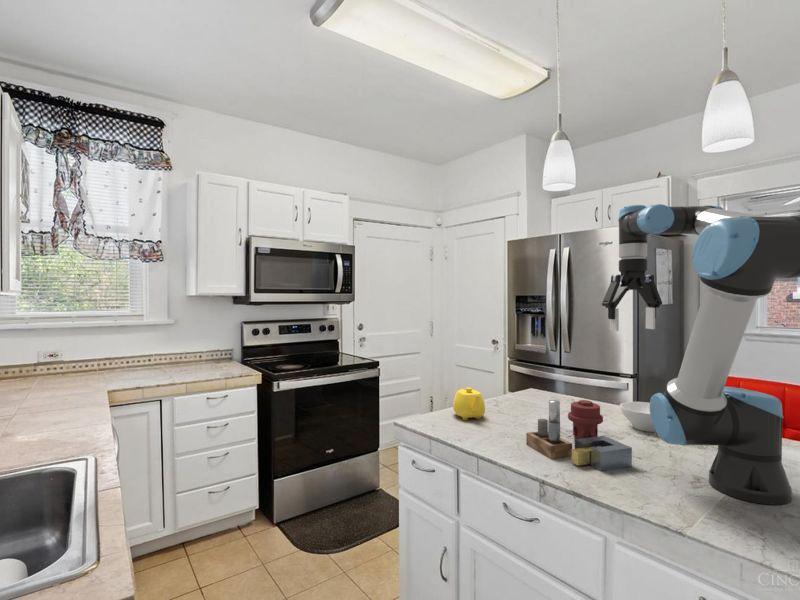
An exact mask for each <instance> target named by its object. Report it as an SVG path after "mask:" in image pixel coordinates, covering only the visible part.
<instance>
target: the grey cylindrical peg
mask: <svg viewBox="0 0 800 600" xmlns="http://www.w3.org/2000/svg"><path fill="white" fill-rule="evenodd" d="M560 408H561V401H560V400H558V399H549V400H548V442H549V443H551V444H553V445H554V444H560V438H561V412H560V411H561V409H560Z"/></svg>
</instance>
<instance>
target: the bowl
mask: <svg viewBox="0 0 800 600" xmlns="http://www.w3.org/2000/svg"><path fill="white" fill-rule="evenodd" d="M619 408H620V411H621V412H622V415H624V417H625V418H626V419H627V420H628V421H629V423H630V424H631V425H632V426H633V428H634V429H636V430H638V431H639V430H640V431H643V432H647V433H648V432H650V433H657V432H656V430H655V428H654V426H653V423H652V419H651V415H650V402H648V401H647V402H645V401H626V402H622V403H620V404H619Z"/></svg>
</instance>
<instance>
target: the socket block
mask: <svg viewBox="0 0 800 600" xmlns="http://www.w3.org/2000/svg"><path fill="white" fill-rule="evenodd" d="M585 447H591V464H590V466H591V467H592V468H594V469H596V470H597V471H599V472H605V471H611V470H617V469H618V470H619V469H624V468H629V467H630V468H632V466H633V447H631V446H628V445H626V444H624V443H622V442H620V441H617V440H615V439H612V438H611V437H608V436H606V435H598V437H590V438H582V439H574V449H578V448H585Z"/></svg>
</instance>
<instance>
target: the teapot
mask: <svg viewBox="0 0 800 600" xmlns="http://www.w3.org/2000/svg"><path fill="white" fill-rule="evenodd" d="M452 404H453V405H452V407H453V408H452V409H453V411H454V413H455V414H456V416H458V417H461V420H462V421H468V420H469V418H475V419H476V420H481V419H482V417H483V416H484V415H485V414H486V405H485V401H484V398H483V396H482V393H481V392H480V391H478V390H475V389H473V387H465V388H460V389H459V390H457V391H456V393H455V396H454V399H453V403H452Z"/></svg>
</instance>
